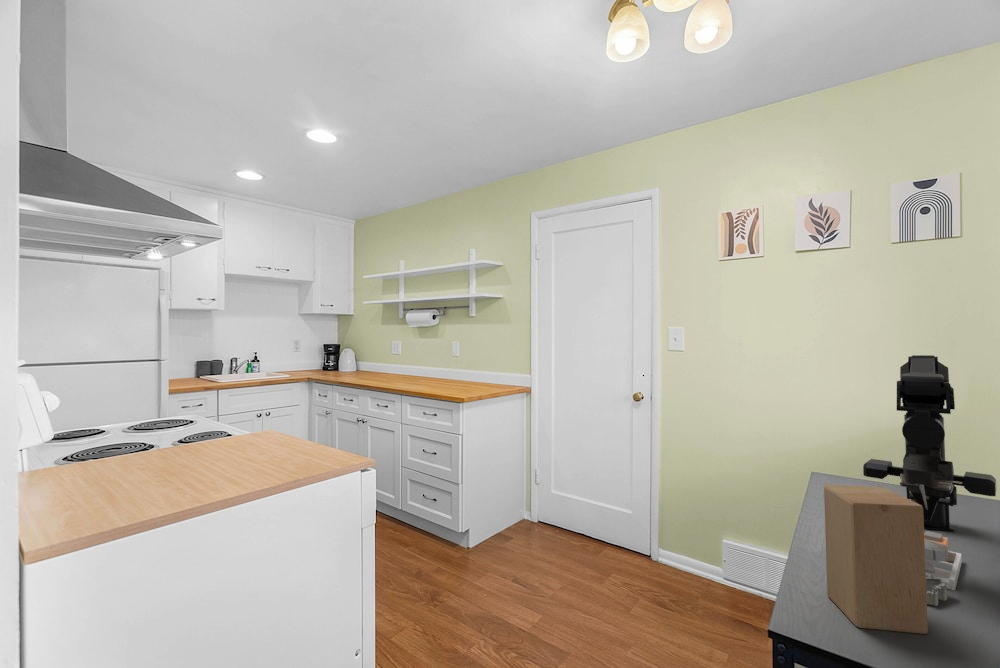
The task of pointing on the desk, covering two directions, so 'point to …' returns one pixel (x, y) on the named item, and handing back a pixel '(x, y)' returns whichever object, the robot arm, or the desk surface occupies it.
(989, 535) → the desk surface
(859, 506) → the wooden block
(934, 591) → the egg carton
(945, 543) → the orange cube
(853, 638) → the desk surface
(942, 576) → the chassis
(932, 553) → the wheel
